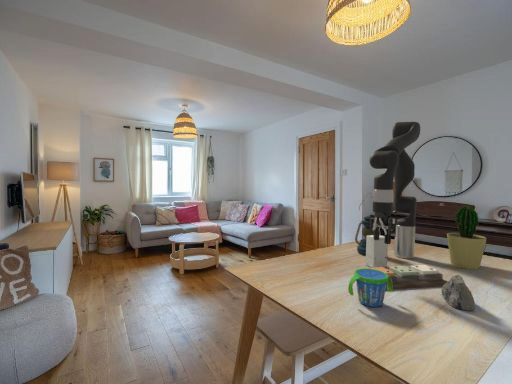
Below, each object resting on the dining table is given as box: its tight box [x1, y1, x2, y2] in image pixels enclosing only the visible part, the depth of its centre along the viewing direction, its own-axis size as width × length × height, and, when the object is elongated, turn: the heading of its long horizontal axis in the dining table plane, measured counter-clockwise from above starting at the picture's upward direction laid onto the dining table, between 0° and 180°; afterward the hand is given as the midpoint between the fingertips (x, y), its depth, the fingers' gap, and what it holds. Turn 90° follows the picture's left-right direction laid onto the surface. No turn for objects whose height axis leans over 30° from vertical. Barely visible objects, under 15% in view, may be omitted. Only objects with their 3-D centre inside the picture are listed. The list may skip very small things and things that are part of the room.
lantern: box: [354, 192, 382, 257], centre depth 149 cm, size 14×12×35 cm
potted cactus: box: [446, 205, 487, 270], centre depth 130 cm, size 15×15×30 cm
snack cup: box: [347, 268, 394, 308], centre depth 89 cm, size 16×10×10 cm
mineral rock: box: [440, 274, 477, 312], centre depth 90 cm, size 13×11×10 cm
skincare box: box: [365, 235, 389, 268], centre depth 128 cm, size 8×6×15 cm
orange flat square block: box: [367, 267, 394, 276], centre depth 107 cm, size 7×7×2 cm
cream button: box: [409, 264, 439, 274], centre depth 111 cm, size 7×7×2 cm
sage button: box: [388, 265, 417, 276], centre depth 109 cm, size 7×7×2 cm
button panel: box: [385, 268, 449, 291], centre depth 109 cm, size 14×30×4 cm, turn 100°
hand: (381, 241), depth 107 cm, fingers open, 6 cm apart
